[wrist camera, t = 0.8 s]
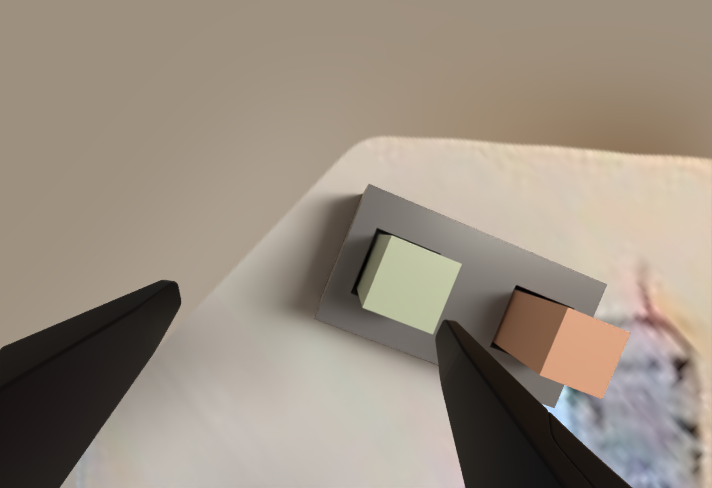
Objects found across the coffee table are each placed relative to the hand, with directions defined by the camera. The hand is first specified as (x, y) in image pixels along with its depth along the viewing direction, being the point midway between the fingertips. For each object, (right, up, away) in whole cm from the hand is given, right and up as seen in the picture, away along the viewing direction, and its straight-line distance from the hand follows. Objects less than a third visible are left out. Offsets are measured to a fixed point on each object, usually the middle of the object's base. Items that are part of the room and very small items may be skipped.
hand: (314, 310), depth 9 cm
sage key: (+4, 0, +12) cm, 13 cm away
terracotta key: (+16, -4, +13) cm, 21 cm away
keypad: (+10, -2, +17) cm, 19 cm away
